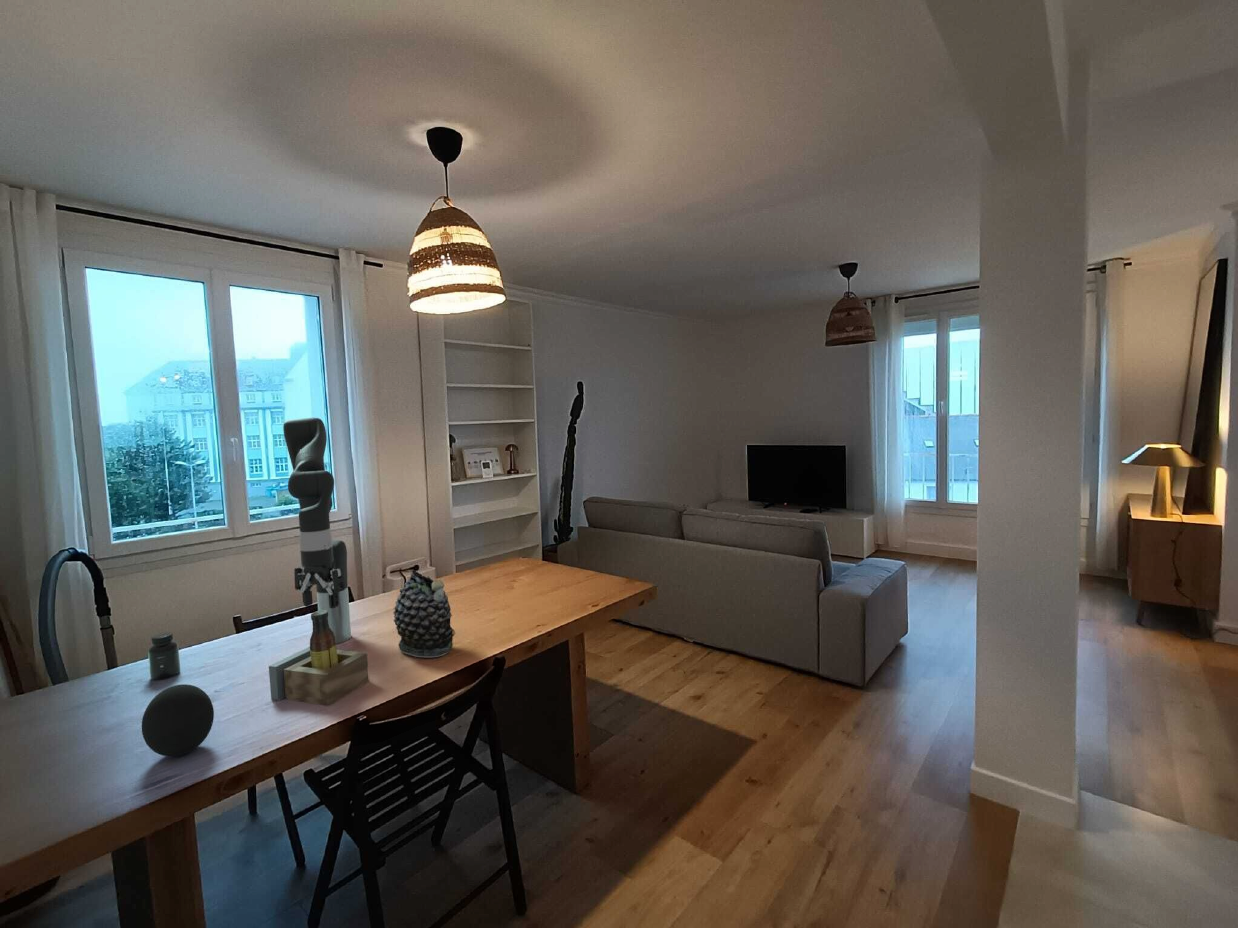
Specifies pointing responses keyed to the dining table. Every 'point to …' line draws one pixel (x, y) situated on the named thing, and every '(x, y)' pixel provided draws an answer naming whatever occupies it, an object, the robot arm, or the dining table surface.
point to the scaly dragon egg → (423, 617)
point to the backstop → (278, 673)
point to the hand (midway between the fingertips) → (321, 606)
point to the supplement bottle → (163, 657)
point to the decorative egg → (177, 720)
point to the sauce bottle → (322, 642)
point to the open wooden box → (326, 679)
